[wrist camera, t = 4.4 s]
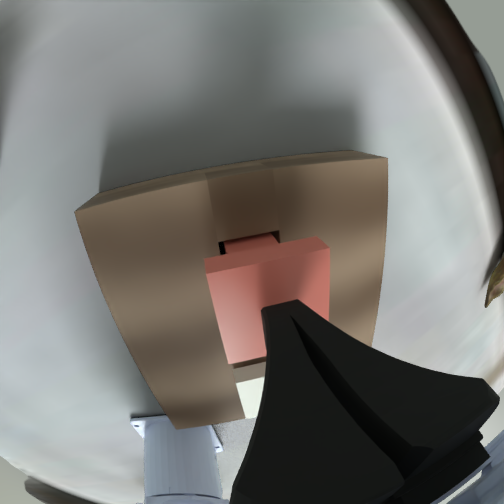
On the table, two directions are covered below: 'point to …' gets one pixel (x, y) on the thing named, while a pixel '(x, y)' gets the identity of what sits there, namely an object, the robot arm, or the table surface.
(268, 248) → the red button
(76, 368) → the table surface
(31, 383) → the table surface
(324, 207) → the panel
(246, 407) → the cream button
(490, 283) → the ceramic sculpture
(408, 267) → the table surface
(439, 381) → the robot arm
